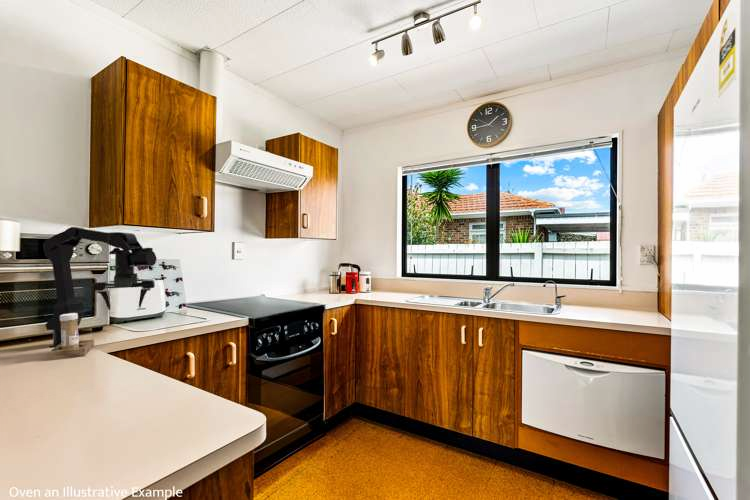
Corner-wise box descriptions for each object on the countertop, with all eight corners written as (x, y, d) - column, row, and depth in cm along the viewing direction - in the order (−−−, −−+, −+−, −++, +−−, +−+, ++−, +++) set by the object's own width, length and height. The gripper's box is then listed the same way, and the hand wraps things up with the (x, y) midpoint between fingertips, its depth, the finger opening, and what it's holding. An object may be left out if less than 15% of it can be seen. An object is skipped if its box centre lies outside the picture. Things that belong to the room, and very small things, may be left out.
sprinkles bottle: (78, 354, 118) (76, 313, 118) (60, 357, 116) (58, 315, 116) (80, 351, 122) (78, 312, 122) (62, 354, 120) (60, 313, 119)
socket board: (94, 346, 131) (94, 339, 131) (84, 355, 117) (84, 348, 117) (61, 349, 126) (61, 342, 126) (48, 360, 113) (48, 352, 113)
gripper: (88, 267, 122) (88, 313, 122) (153, 266, 131) (153, 309, 131) (94, 267, 132) (94, 309, 131) (154, 265, 141) (154, 305, 140)
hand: (124, 308), depth 133 cm, fingers open, 9 cm apart
